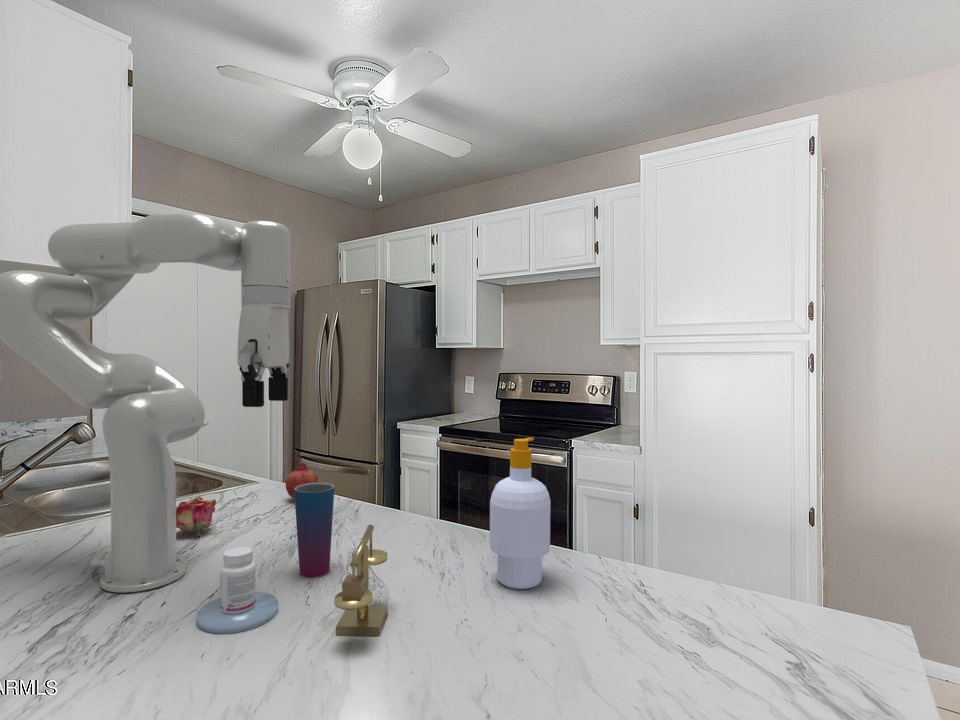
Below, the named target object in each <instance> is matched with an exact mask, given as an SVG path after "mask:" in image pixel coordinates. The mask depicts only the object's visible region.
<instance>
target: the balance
mask: <svg viewBox="0 0 960 720" xmlns="http://www.w3.org/2000/svg"><path fill="white" fill-rule="evenodd" d="M374 530H375V526H374V525H373V524H369V525H367V527H366V529H365V532H364V534H363V536H362V538H361V540H360V542H359V545H358V546H357V547H356V551H355V553H354V554H353V557H352V559H351V561H350V563H349V565H350V567H351V574H349V575H346V576H345V578H344V579H343V580H342V582H341V583H342V585H341V589H342V590H341V591H339V593H336V595H334V601H333V603H334V606H335V607H336V608H338V609H341V610H344V611H343V614H342V615H341V616H340V618H339V620H338V622H337V623H336V625H335V635H336V636H362V637H364V636H365V637H366V636H367V637H379V636H380V635H381V632H382V629H383V627H384V625H385V623H386V620H387V617H388V615H389V609H388V608H389V607H388V606H370V605H371V604H372V602H373V600H374V599H373V593H372V591H370V590H369V588H370V587H369V574H370V573H369V567H372V566H379V565H381V564H384V563H385V562H387V560H388V552H387V551H385V550H383V549H375V548H374V549H373V533H374ZM368 544H369V545H368Z"/></svg>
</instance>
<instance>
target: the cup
mask: <svg viewBox="0 0 960 720" xmlns="http://www.w3.org/2000/svg"><path fill="white" fill-rule="evenodd" d="M294 494H295V499H294V504H295V505H294V506H295V508H294V509H295V522H296V536H297V537H296V539H297V549H298V550H297V553H298V567H299V569H298V570H299V575H300V576H301V577H304V578H310V579H311V578H319V577H324V576H325V575H327V574H328V573H329V572H330V567H331V565H330V564H331V550H332V549H331V548H332V535H333V534H332V533H333V532H332V531H333V516H334V515H333V514H334V503H335V502H334V501H335V484H332V483H329V482H318V483H307V484H302V485H299V486H296V487H295V488H294Z"/></svg>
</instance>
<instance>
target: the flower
mask: <svg viewBox="0 0 960 720" xmlns="http://www.w3.org/2000/svg"><path fill="white" fill-rule="evenodd" d="M216 504H217V500H216V499H215V498H214V499H211V500H209V499H204V498H203V497H201V496H198V497H196V498H191V499H189V500H187V501H181V502H179V504H178V505H177V506H176V529H179V530H180V531H181V532H182V534H183V533H184V534H190V533H191V534H193V532H195V535H196V536H195V537H196V538H198V539H199V538H201V532H204V531H206V530H207V528H208V529H209V528H210V527H211V526H213V525H214V524H215V523H217V522H218V521H219V520H221V518H219V519H218V520H216V521H215V522H213V521H212V520H213V513H215V512H216V507H215V506H216ZM212 522H213V523H212Z"/></svg>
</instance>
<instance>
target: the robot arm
mask: <svg viewBox="0 0 960 720" xmlns="http://www.w3.org/2000/svg"><path fill="white" fill-rule="evenodd" d="M47 250H48V253H49V255H50V257H51V259H52V261H53V262H55V264H57V266H59V267H60V268H61V269H64V270H65V271H68V272H70V273H73V275H65V274H59V273H53V272H47V271H38V270H29V269H28V270H27V269H26V270H25V269H22V270H21V269H20V270H19V269H18V270H17V269H16V270H10V271H9V270H8V271H5V272H1V273H0V340H1V341H2V342H3V343H4V344H5V345H6V346H8V347H9V348H10V349H11V350H12V351H14V352H15V353H16V354H18V355H19V356H21V357H22V358H23V359H25V360H26V361H27V362H29V363H30V364H32V365H33V366H34V367H35V368H37V369H38V370H39V371H40V372H41V373H42V374H43V375H44V376H45V377H47V378H48V379H49V380H50V381H52V383H53V384H55V385H56V386H57V387H59V389H61V390H62V391H63V392H64V393H65V394H67V396H69V397H70V398H71V399H72V400H74V401H75V402H76V403H77V404H79V405H80V406H82V407H84V408H86V409H91V410H92V409H93V410H102V409H103V410H104V409H106V410H105V413H104V415H103V418H102V434H103V437H104V442H105V446H106V450H107V455H108V463H109V483H110V487H109V488H110V551H109V550H108V551H105V550H98V551H96V552H95V553H94V555H93V559H91V561H90V567H91V568H103V569H104V573H103V574H102V576H101V577H100V579H99V585H100V587H101V589H103V590H104V591H107V592H110V593H112V592H113V593H135V592H142V591H148V590H152V589H156V588H159V587H163V586H166V585H168V584H171V583H173V582H175V581H177V580H179V579H180V578H182V577H183V576H184V575H185V573H186V572H187V563H186V561H185V560H183V559H182V558H178V557H177V528H176V507H177V490H176V489H177V486H176V485H177V484H176V483H177V481H176V477H177V476H176V466H175V463H174V460H173V458H172V456H171V452H170V450H169V449H168V446H167V445H168V444H172V443H176V442H179V441H182V440H186V439H188V438H191V437H193V436H194V435H196V434H197V433H198V432H200V430H201V428H202V427H203V426H204V422H205V421H206V419H205V418H206V412H205V408H204V405H203V403H202V401H201V399H200V398H199V397H198V395H196V393H195V392H194V391H193V390H192V389H190V388H189V387H188V386H187V385H185V383H183V382H181V381H180V379H178V378H177V377H176V376H174V375H173V374H172V373H171V372H169V371H168V370H167V369H166V368H165V367H163V365H161V364H159V362H157V361H155V360H154V359H151V358H149V357H148V356H146V355H142V354H138V353H137V354H136V353H112V352H107V351H104V350H103V349H100V347H98V346H96V345H95V344H94V343H92V342H91V341H89V339H87V338H86V337H85V336H84V335H83V334H81V333H80V332H79V331H77V330H75V329H73V328H72V327H69V326H67V325H65V324H64V323H61V322H65V323H66V322H67V323H80V322H81V323H82V322H86V321H89V320H90V319H93V318H95V316H97V315H99V314H100V313H101V312H102V311H103V310H104V309H105V308H106V307H107V306H108V305H109V304H110V302H112V301H113V299H115V297H116V296H117V295H118V294H119V293H120V292H121V291H122V290H124V288H125V287H126V285H127V284H128V283H130V281H131V280H132V279H133V278H134V276H135V275H136V274H137V275H138V274H139V275H140V274H150V273H152V272H154V271H156V270H157V269H158V267H159V266H160V264H164V263H166V264H167V263H172V264H173V263H189V264H190V263H192V264H196V265H197V264H198V265H202V266H208V267H211V268H216V269H218V270H219V269H220V270H223V271H229V272H238V271H240V277H241V278H240V279H241V280H240V282H241V283H240V284H241V285H240V286H241V289H240V290H241V291H240V293H241V294H240V298H241V299H240V300H241V301H240V303H241V310H240V315H239V320H238V321H239V322H238V323H239V324H238V333H237V334H238V335H237V336H238V337H237V353H236V354H237V355H236V356H237V359H236V360H237V365H238V366H239V371H240V373H241V376H240V381H241V382H242V384H241V386H242V395H241V397H242V404H241V405H242V407H244V408H262V407H264V405H265V380H262V378H263V376H264V372H265V370H266V369H268V371H269V375H270V377H268V400H269V401H271V402H272V401H275V402H277V401H278V402H279V401H280V402H286V401H288V399H289V376H290V375H289V370H288V369H289V367H290V363H289V361H290V335H289V334H290V333H289V332H290V331H289V322H288V321H289V320H288V311H287V310H290V309H291V233H290V230H289V228H288V227H287V226H286V225H285V224H282V223H279V222H275V221H268V220H253V221H247V222H246V223H244V224H243V226H242V227H240V226H238V225H237V226H236V225H233V224H229V223H227V222H225V221H222V220H219V219H217V218H214V217H211V216H208V215H206V214H205V215H204V214H200V213H199V214H198V213H163V214H161V213H160V214H151V215H147V216H144V217H142V218H140V219H139V220H136V221H135V222H134V221H131V222H110V223H109V222H108V223H107V222H106V223H103V222H102V223H79V224H78V223H76V224H70V225H69V224H68V225H66V226H62V227H60V228H58V229H56V230H55V231H54V232H53V233H52V234H51V235H50V237H49V239H48V243H47Z"/></svg>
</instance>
